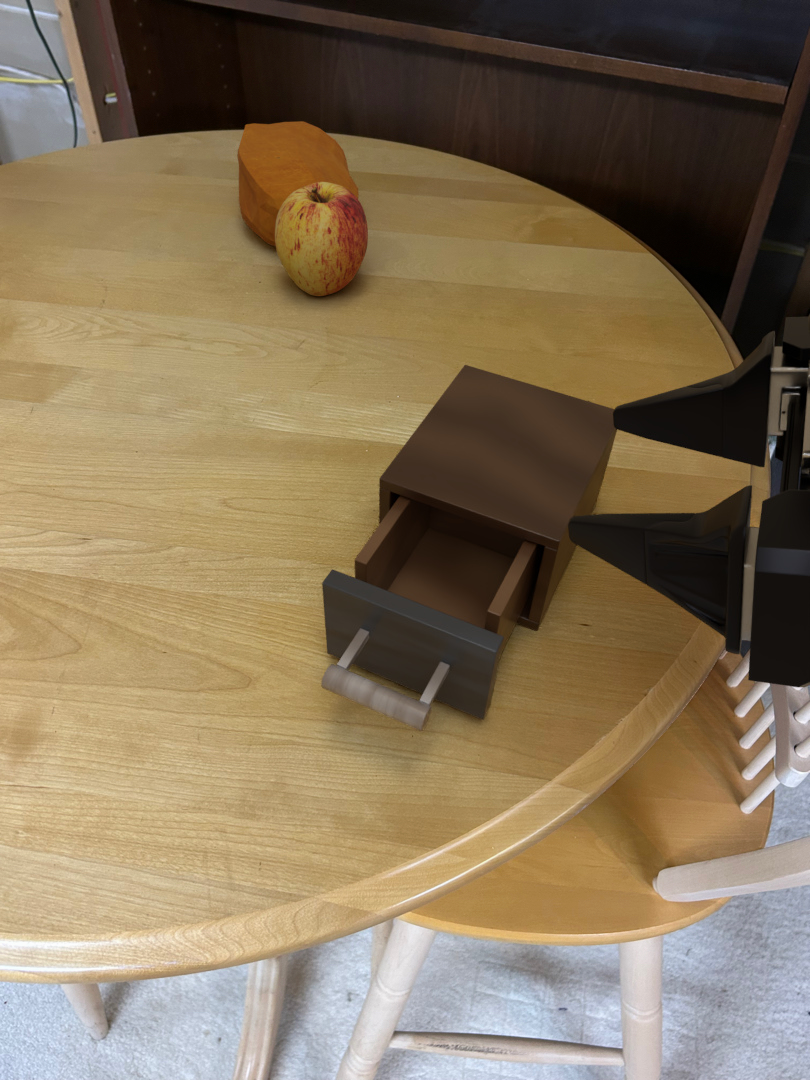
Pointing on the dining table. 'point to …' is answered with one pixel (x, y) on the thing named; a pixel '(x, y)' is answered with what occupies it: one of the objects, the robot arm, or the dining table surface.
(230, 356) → the dining table surface
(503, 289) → the dining table surface
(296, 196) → the apple
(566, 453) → the cabinet
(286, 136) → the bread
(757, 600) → the robot arm
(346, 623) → the drawer
